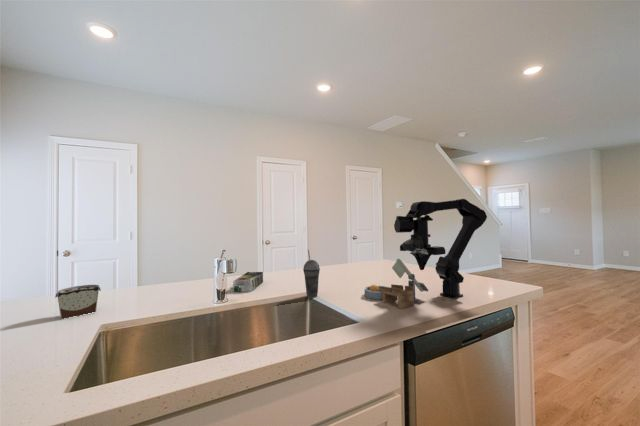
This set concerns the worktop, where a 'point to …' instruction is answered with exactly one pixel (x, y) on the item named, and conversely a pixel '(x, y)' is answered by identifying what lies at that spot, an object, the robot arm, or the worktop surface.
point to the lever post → (412, 283)
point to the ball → (374, 288)
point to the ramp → (398, 295)
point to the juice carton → (248, 282)
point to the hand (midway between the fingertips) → (421, 270)
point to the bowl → (373, 294)
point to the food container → (77, 300)
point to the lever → (401, 269)
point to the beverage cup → (311, 277)
